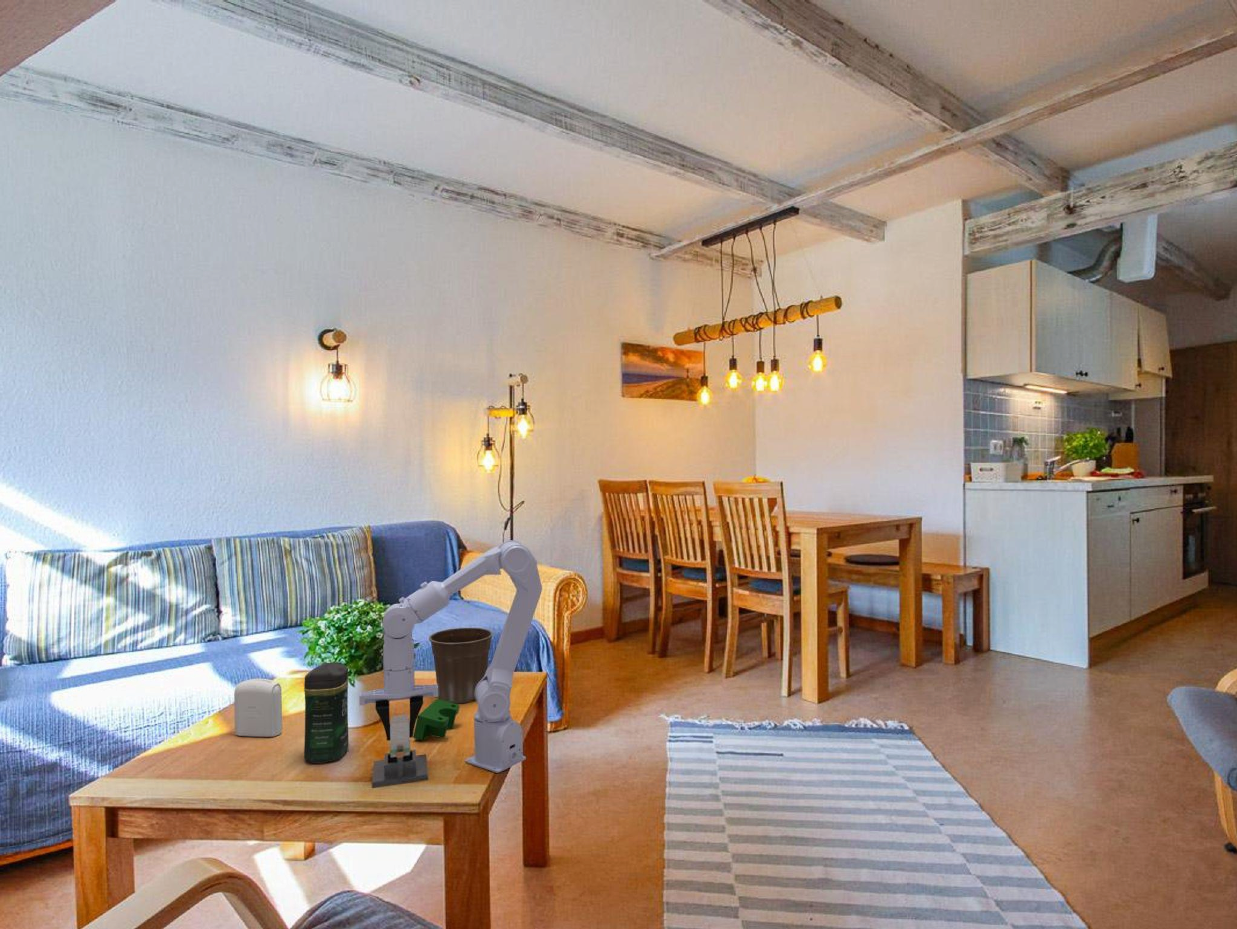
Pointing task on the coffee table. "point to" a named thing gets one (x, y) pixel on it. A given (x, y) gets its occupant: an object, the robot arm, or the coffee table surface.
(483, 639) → the plant pot
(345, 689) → the coffee jar
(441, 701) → the clamp
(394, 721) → the pull-out drawer
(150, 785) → the coffee table surface
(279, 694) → the photo printer
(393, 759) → the grey slotted holder
